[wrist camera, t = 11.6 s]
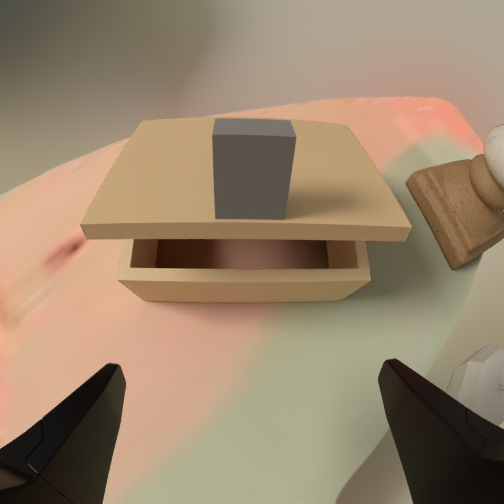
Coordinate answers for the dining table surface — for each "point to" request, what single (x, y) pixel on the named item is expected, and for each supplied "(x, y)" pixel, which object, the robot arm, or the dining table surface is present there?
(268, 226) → the lid
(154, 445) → the dining table surface
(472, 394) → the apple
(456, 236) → the candle holder
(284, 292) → the wooden box
